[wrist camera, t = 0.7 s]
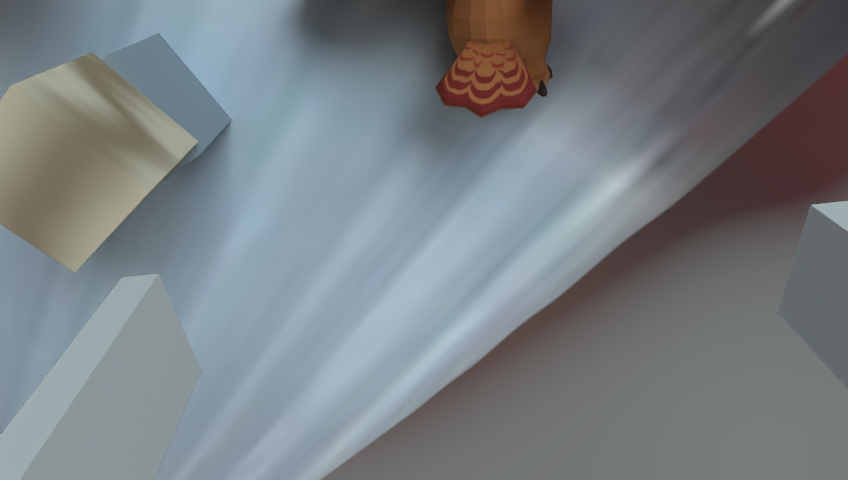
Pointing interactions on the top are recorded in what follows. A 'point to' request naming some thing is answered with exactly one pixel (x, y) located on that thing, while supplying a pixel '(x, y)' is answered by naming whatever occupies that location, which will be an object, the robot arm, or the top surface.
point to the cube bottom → (171, 90)
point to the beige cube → (80, 156)
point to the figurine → (496, 54)
